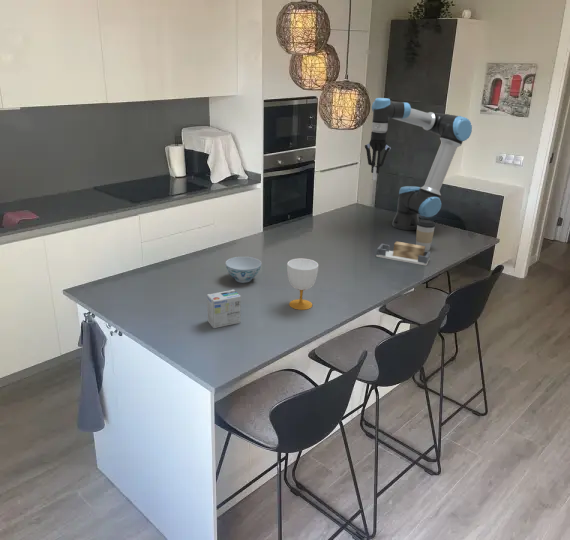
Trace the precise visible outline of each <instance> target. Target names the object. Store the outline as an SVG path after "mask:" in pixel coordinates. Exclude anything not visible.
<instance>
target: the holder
mask: <svg viewBox="0 0 570 540" xmlns="http://www.w3.org/2000/svg"><path fill="white" fill-rule="evenodd" d="M390 247H391V244H385V243H381V244H380V245H379V246H378V247H377V248H376V255H375V257H377V258H381V259H388V260H392V261H396V262H397V261H398V262H404V263H410V264H414V265H420V266H427V265H428V263H429V262H430V259H431V254H432V251H430V250H428V251H425V252H424V256H421V255H419V256H418V260H415V259H410V258H404V257H398V256H393V250H390Z"/></svg>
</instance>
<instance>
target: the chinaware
mask: <svg viewBox="0 0 570 540" xmlns="http://www.w3.org/2000/svg"><path fill="white" fill-rule="evenodd" d="M261 267H262V261H261V260H260V259H258V258H255V257H252V256H234V257H230V258H228V259H227V260H226V261H225V268H226V271H227V273H228V274H229V275H230V276H231V277H232V278H233V279H235V281H236V282H238V283H240V284H241V283H243V284H245V283H249V282H251V281H252V279H254V278H255V277H256V276H257V275H258V273H259V272H260V271H261Z"/></svg>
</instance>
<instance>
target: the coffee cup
mask: <svg viewBox="0 0 570 540" xmlns="http://www.w3.org/2000/svg"><path fill="white" fill-rule="evenodd" d="M435 227H436V222H434V220H432V219H429V218H428V217H425V218H424V217H423V219H419V221H418V222H417V230H416V234H415V235H416V236H415V238H416V239H415V241H416V242H415V245H421V246H425V251H427V252H428V251H431V246H432V242H433V238H434V233H435Z"/></svg>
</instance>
